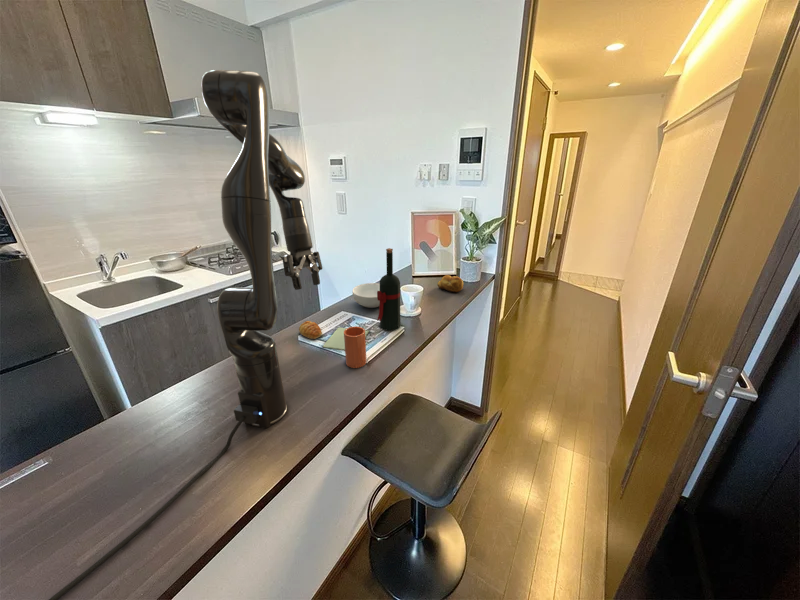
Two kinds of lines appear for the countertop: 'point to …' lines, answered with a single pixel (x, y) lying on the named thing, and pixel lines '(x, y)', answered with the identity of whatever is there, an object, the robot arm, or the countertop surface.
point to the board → (338, 339)
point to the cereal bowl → (367, 295)
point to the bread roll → (451, 283)
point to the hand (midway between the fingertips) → (308, 286)
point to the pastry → (310, 330)
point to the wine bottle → (389, 297)
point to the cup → (355, 347)
